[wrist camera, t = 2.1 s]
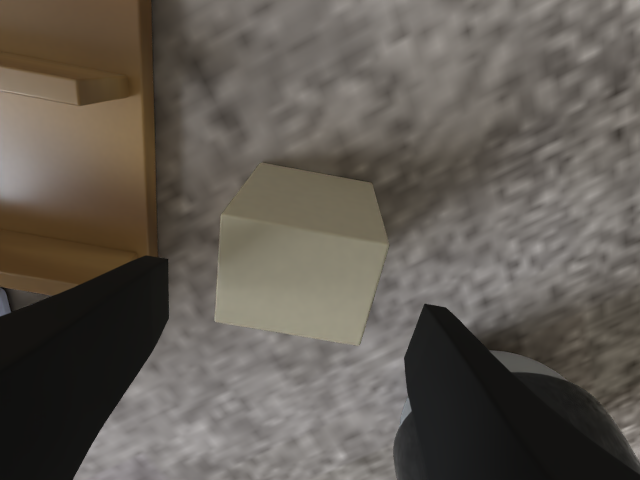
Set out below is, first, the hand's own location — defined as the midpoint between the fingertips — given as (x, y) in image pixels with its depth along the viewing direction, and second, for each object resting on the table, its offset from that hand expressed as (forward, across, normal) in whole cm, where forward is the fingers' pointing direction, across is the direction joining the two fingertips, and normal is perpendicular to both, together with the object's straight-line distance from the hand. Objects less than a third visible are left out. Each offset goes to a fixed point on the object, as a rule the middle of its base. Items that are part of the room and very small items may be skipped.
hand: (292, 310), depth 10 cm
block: (+7, 0, 0) cm, 7 cm away
